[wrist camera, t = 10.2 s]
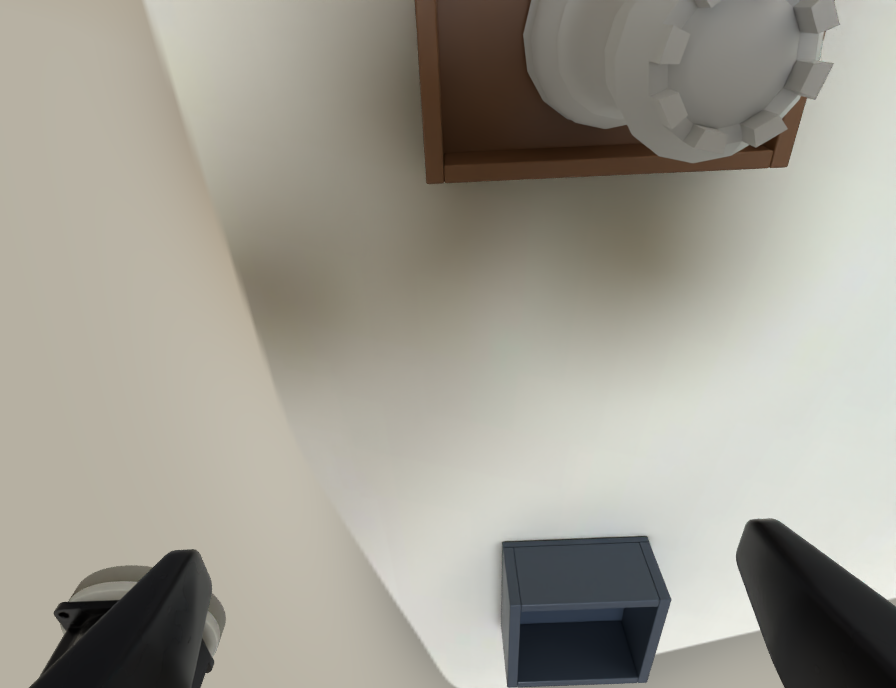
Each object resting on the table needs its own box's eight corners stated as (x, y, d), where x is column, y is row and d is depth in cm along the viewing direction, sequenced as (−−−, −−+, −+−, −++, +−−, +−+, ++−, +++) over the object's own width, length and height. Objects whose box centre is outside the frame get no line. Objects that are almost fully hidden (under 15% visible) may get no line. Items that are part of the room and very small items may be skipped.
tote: (500, 624, 30) (507, 688, 27) (502, 541, 27) (509, 605, 24) (628, 619, 30) (647, 683, 27) (647, 536, 26) (671, 599, 24)
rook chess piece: (701, 82, 15) (910, 149, 9) (548, 146, 16) (627, 253, 9) (673, -108, 13) (924, -219, 6) (497, -21, 14) (552, -39, 7)
